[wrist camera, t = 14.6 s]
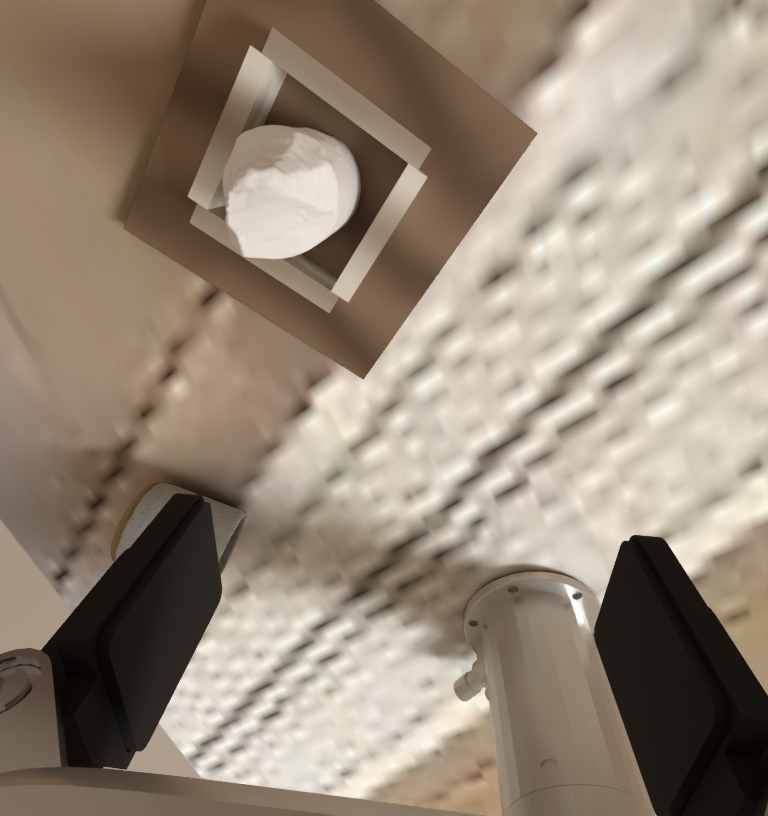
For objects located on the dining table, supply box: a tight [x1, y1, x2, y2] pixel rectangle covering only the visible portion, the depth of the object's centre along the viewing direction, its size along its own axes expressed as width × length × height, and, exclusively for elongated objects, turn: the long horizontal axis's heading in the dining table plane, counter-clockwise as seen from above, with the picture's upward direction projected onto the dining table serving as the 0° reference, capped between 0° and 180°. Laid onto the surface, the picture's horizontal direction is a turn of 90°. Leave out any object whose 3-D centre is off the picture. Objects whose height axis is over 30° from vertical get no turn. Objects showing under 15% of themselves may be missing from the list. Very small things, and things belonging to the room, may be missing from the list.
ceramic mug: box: [111, 483, 246, 576], centre depth 40 cm, size 11×8×8 cm
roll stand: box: [124, 0, 537, 379], centre depth 28 cm, size 18×18×4 cm
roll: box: [223, 125, 361, 259], centre depth 23 cm, size 6×12×6 cm
